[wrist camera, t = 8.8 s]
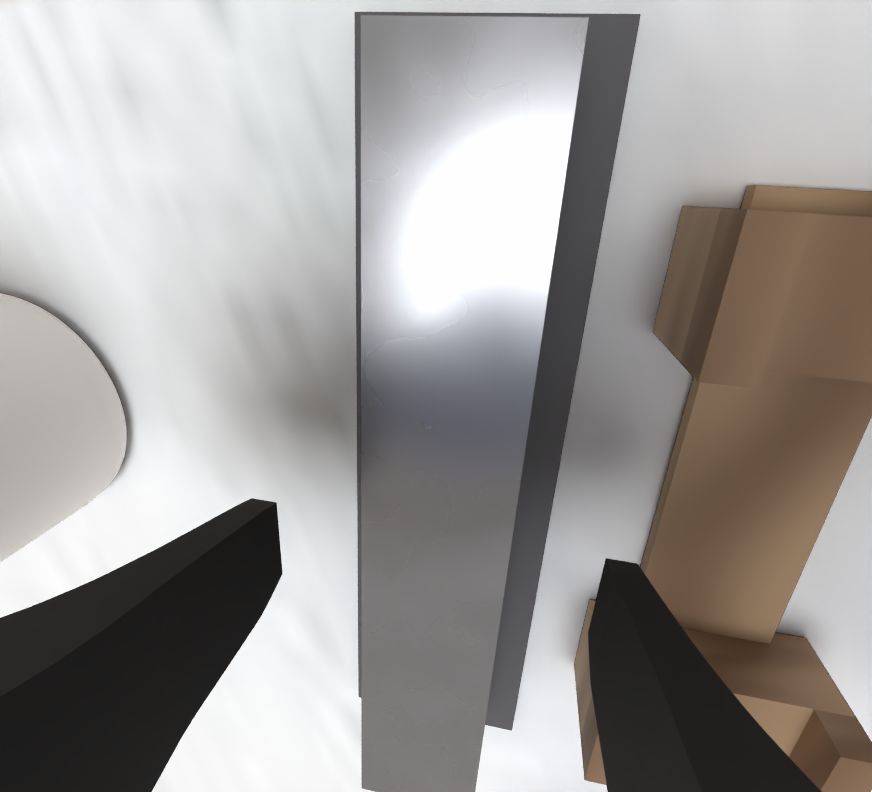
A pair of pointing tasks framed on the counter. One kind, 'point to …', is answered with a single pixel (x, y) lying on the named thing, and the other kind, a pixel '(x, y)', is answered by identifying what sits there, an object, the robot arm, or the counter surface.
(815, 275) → the stand
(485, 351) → the rail
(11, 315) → the pill bottle
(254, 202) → the counter surface
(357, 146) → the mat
